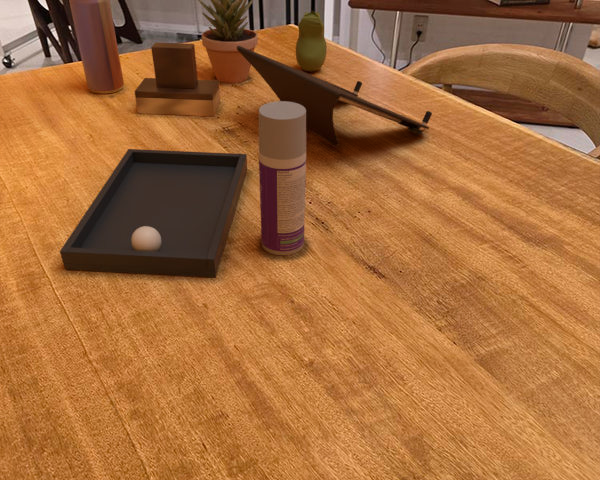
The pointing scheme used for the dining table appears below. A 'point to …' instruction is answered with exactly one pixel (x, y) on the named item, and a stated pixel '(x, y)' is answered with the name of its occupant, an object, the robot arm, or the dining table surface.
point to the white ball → (146, 239)
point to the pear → (311, 42)
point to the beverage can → (97, 45)
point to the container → (282, 176)
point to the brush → (176, 84)
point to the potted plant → (228, 40)
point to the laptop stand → (319, 96)
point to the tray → (160, 214)
